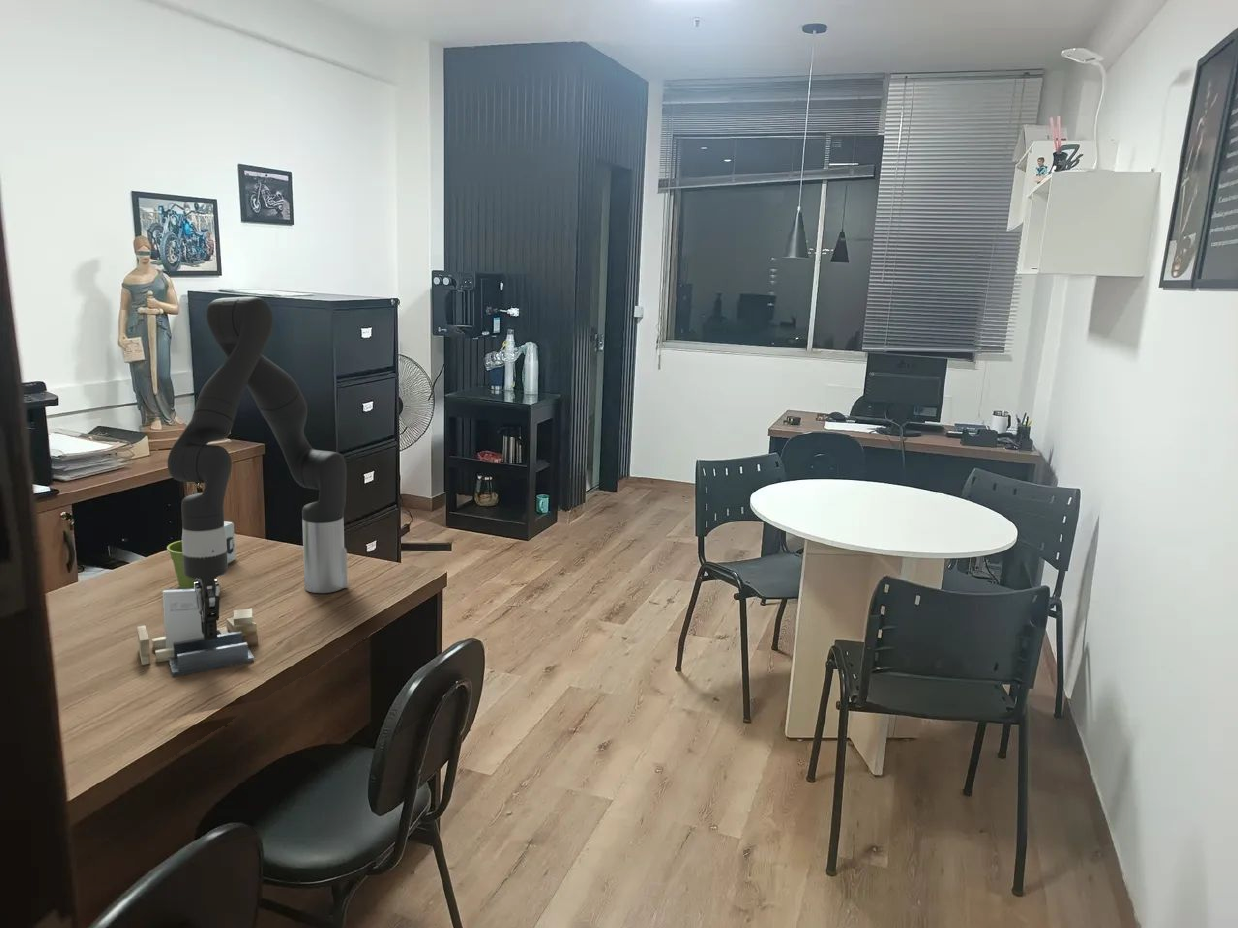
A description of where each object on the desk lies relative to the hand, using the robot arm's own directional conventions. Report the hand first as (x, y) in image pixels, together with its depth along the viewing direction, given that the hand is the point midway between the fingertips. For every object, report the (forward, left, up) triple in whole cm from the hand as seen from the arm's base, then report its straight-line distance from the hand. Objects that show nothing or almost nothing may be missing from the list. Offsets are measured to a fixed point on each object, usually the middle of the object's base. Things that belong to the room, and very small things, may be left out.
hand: (209, 635), depth 163 cm
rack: (+3, -8, -5) cm, 10 cm away
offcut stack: (-7, -8, -5) cm, 12 cm away
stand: (0, 0, -5) cm, 5 cm away
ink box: (-9, -58, -6) cm, 59 cm away
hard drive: (+3, -8, -6) cm, 10 cm away
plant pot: (-3, -42, -6) cm, 42 cm away
